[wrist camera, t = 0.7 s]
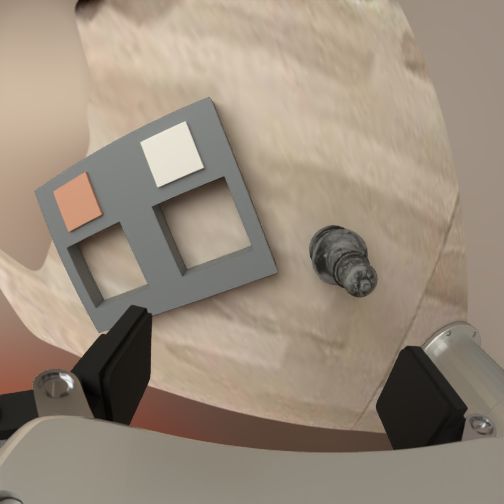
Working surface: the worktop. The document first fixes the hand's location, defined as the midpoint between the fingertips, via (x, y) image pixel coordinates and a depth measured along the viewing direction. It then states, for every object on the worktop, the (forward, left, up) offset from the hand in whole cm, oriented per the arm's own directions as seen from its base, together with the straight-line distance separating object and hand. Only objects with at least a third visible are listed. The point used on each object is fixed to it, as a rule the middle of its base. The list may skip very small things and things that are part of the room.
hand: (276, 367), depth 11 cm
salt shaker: (-5, -7, -24) cm, 26 cm away
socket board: (+5, +11, -24) cm, 27 cm away
